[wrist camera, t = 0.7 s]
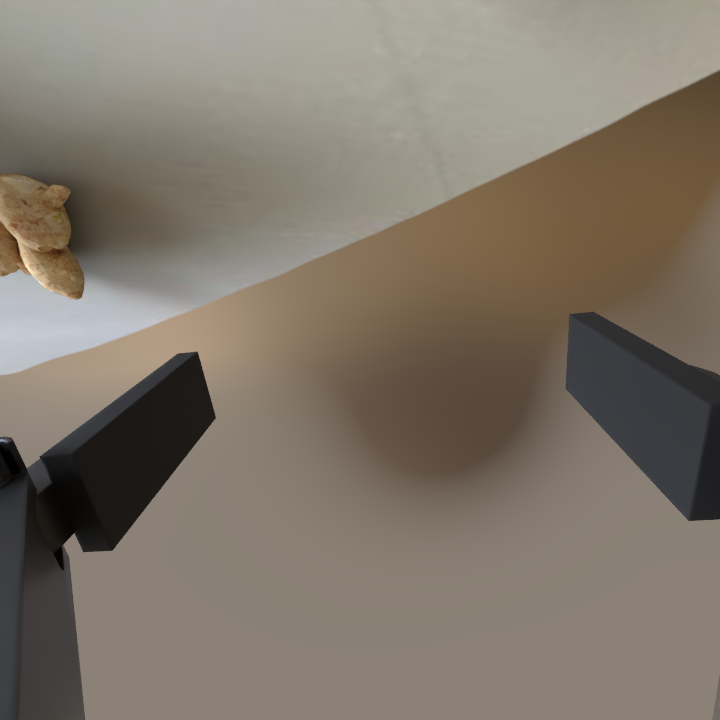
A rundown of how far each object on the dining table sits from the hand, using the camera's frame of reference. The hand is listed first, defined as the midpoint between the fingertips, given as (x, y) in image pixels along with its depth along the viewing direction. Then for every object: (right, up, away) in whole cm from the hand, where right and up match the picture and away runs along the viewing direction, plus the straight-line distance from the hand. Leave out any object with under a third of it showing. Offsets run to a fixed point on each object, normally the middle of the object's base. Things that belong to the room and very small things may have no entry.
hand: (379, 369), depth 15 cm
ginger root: (-36, +16, +30) cm, 50 cm away
